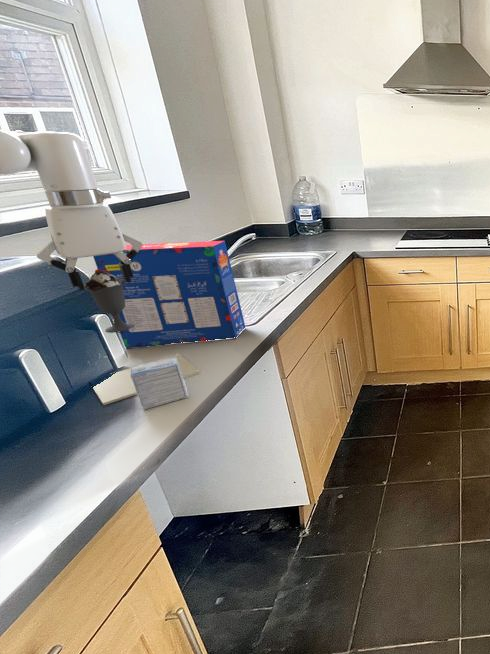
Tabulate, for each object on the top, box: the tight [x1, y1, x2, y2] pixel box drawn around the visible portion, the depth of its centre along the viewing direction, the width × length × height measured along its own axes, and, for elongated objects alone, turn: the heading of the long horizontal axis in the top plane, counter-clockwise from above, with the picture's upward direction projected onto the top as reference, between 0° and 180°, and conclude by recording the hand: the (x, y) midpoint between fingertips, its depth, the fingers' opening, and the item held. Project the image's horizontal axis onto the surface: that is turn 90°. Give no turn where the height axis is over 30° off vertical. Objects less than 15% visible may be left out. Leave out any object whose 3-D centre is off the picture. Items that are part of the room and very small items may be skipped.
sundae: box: [84, 260, 135, 334], centre depth 89 cm, size 7×7×15 cm
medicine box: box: [131, 358, 189, 411], centre depth 91 cm, size 8×4×9 cm, turn 130°
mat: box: [92, 353, 201, 406], centre depth 101 cm, size 18×16×1 cm
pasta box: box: [92, 240, 246, 349], centre depth 119 cm, size 28×8×28 cm, turn 103°
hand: (105, 284), depth 88 cm, fingers closed on sundae, 6 cm apart
